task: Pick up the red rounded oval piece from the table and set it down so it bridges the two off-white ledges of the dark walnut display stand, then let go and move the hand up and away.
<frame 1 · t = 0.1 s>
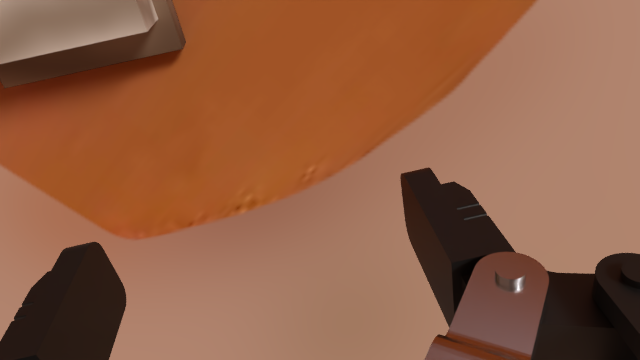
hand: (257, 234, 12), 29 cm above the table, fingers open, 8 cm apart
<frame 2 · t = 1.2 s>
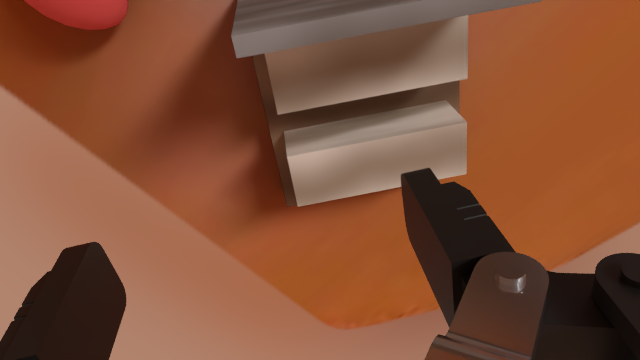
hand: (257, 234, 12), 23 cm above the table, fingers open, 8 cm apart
display stand: (357, 86, 35), on the table
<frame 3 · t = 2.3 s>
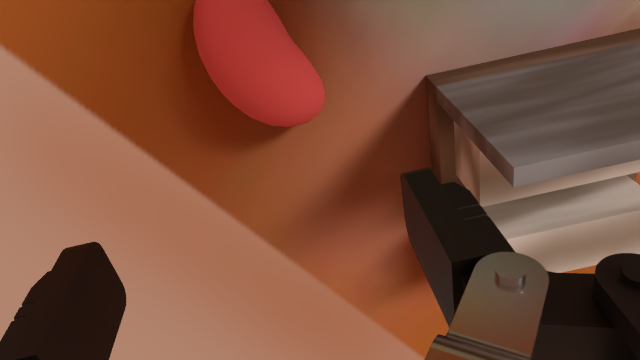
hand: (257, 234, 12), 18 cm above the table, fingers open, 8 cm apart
display stand: (527, 159, 34), on the table
red rounded oval piece: (257, 45, 28), on the table
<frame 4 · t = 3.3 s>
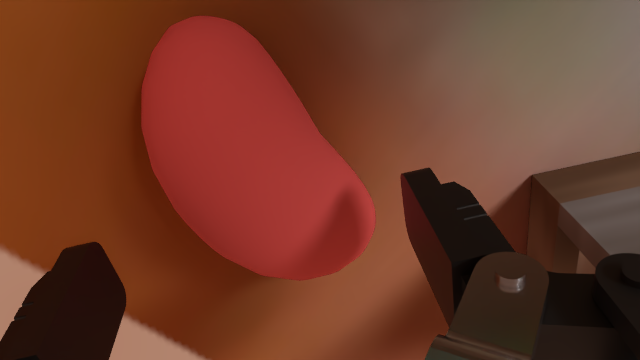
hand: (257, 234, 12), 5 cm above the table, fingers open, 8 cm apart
red rounded oval piece: (261, 133, 17), on the table
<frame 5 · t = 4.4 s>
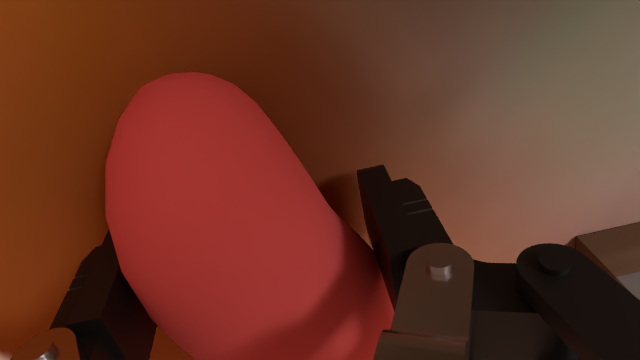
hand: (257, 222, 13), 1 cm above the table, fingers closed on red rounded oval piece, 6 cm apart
red rounded oval piece: (259, 199, 14), on the table, touching gripper
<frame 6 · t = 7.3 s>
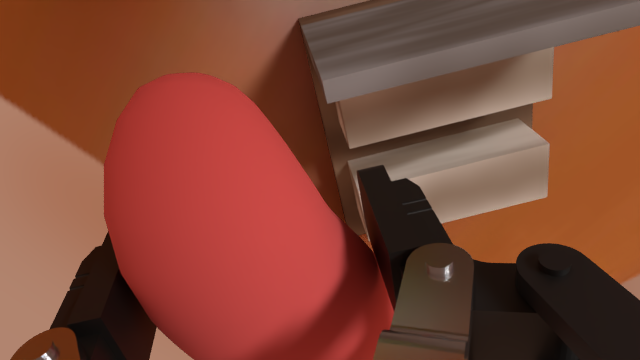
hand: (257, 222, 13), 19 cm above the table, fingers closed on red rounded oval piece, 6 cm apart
display stand: (421, 108, 33), on the table
red rounded oval piece: (258, 199, 14), point 18 cm above the table, touching gripper
when the fingers open (7 cm above the table, at t = 10.2 s): red rounded oval piece stays where it is, resting on display stand.
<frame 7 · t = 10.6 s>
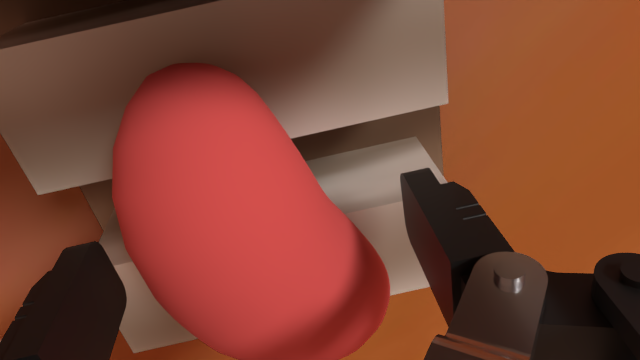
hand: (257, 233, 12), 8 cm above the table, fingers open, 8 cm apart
display stand: (256, 115, 19), on the table
red rounded oval piece: (257, 188, 14), point 6 cm above the table, touching display stand
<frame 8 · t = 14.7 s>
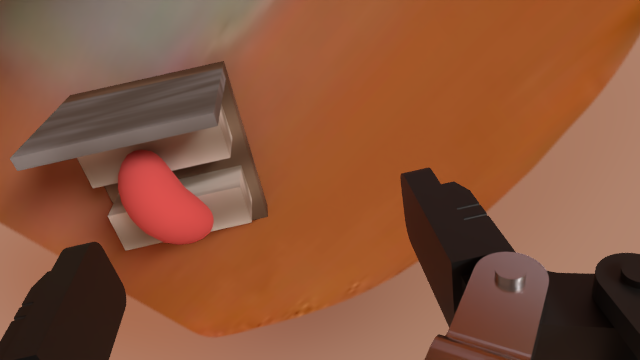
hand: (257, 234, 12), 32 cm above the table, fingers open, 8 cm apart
display stand: (177, 155, 46), on the table
red rounded oval piece: (168, 186, 41), point 6 cm above the table, touching display stand
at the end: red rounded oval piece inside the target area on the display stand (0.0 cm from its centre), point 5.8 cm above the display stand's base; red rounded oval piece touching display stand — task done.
